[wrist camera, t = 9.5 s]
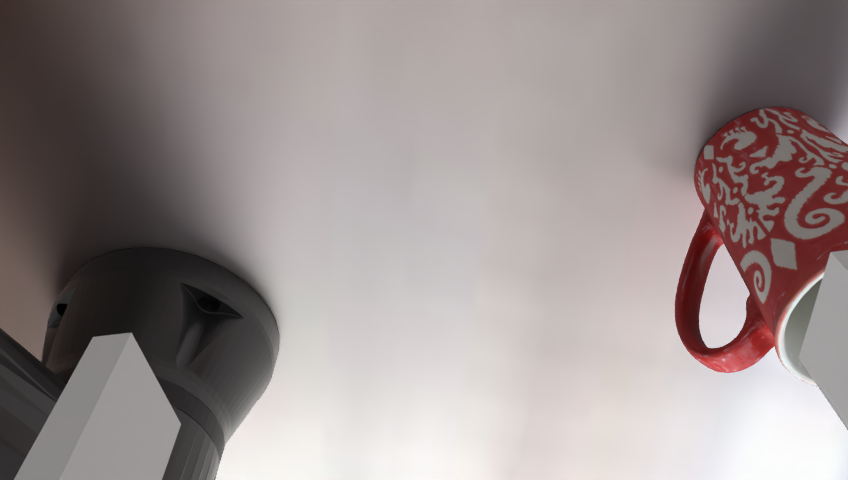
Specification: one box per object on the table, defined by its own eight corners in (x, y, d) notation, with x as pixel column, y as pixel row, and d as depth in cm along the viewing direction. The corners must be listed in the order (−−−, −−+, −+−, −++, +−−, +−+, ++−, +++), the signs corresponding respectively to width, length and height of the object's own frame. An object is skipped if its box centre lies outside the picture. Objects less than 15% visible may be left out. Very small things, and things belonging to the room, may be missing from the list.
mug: (801, 54, 34) (976, 191, 23) (865, 166, 38) (1040, 328, 27) (596, 190, 39) (661, 355, 28) (672, 276, 43) (753, 449, 32)
